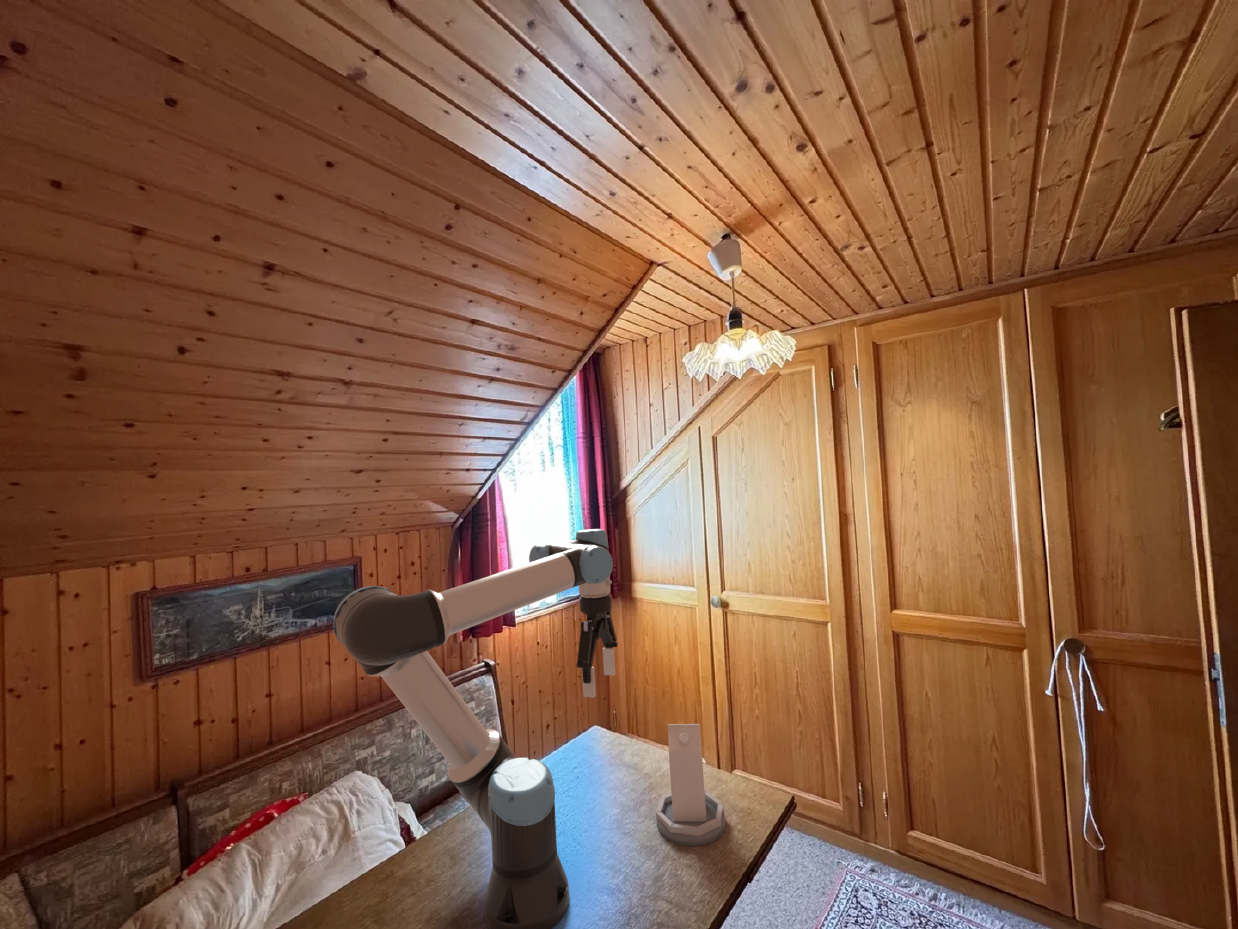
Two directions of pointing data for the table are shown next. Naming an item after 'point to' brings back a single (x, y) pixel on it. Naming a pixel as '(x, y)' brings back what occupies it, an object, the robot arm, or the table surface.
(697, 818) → the milk carton
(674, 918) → the table surface
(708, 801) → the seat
